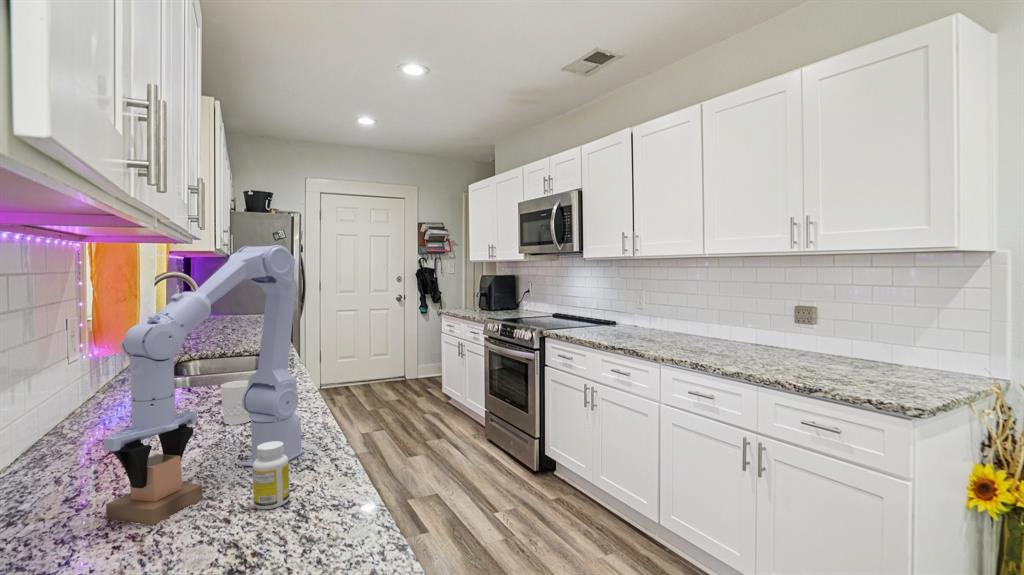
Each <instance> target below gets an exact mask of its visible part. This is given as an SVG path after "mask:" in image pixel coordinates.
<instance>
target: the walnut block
mask: <svg viewBox="0 0 1024 575" xmlns="http://www.w3.org/2000/svg"><path fill="white" fill-rule="evenodd" d="M200 501H203V484H199V483H198V484H197V483H188V482H182V489H180V490H178V491H176V492H174V493H172V494H170V495H168V496H166V497H164V498H162V499H160V500H158V501H156V502H152V501H143V500H133V499H131V492H129V493H127V494H125V495H123V496H121V497H118V498H116V499H114V500H111V501H109V502H107V503H105V511H106V512H105V513H106V520H107V519H110V520H109V521H113V520H116V521H115V522H119V521H124V522H123V523H126V522H133V523H140V524H146V525H145V526H147V525H150V526H149V527H153V525H154V526H156V525H157V523H158V524H159V522H160V521H161V522H163V521H165V520H167V519H168V518H167V517H169V516H171V515H173V514H175V513H176V514H178V513H179V512H178V511H180V510H182V511H184V510H185V509H184V508H186V507H188V506H189V507H191V506H193V505H195V504H197V503H199V502H200ZM190 505H191V506H190ZM189 507H188V508H189ZM183 509H184V510H183ZM186 509H187V508H186ZM177 512H178V513H177ZM180 512H181V511H180ZM176 514H175V515H176ZM173 516H174V515H173ZM171 517H172V516H171ZM166 518H167V519H166ZM169 518H170V517H169ZM164 519H165V520H164ZM162 520H163V521H162ZM161 522H160V523H161ZM133 523H132V524H133ZM140 524H139V525H140ZM155 524H156V525H155Z"/></svg>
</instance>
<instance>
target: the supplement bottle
mask: <svg viewBox="0 0 1024 575" xmlns="http://www.w3.org/2000/svg"><path fill="white" fill-rule="evenodd" d="M283 450H284V448H283V442H280V441H272V442H266V443H263V444H260V445H259V446H258V447H257V456H258V457H259V458H257V459H256V460H255V461H254V463H253V466H252V478H253V479H252V483H253V485H252V486H253V489H252V490H253V505H254V507H255V508H256V509H259V510H271V509H275V508H278V507H280V506H282V505H285V504H286V503H287V502H288V501H289V500H290V469H289V468H290V467H289V463H290V462H289V461H288V457H287V456H286V455H284V454H282V453H283Z"/></svg>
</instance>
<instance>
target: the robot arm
mask: <svg viewBox="0 0 1024 575" xmlns="http://www.w3.org/2000/svg"><path fill="white" fill-rule="evenodd" d="M295 265H296V258H295V257H294V256H293V255H292V253H291V252H290V251H289V249H288V248H286V247H285V246H283V245H282V244H281V245H280V244H274V245H267V246H263V245H262V246H249V245H247V246H245V245H244V246H243V247H242V246H241V247H240V248H239V249H238V250H237V251H236V252H234V253H232V254H231V255H230V256H229V257H228V260H227V262H225V263H224V264H223V265H222V266H221V267H220V268H219V269H217V271H216V272H215V273H213V275H211V276H210V277H209V278H208V279H207V280H205V282H203V283H202V284H201V285H200V286H199V287H198V288H197V289H196V290H195V291H183V292H181V293H178V292H177V293H174V294H173V295H172V296H171V297H170V300H171V301H170V302H169V303H168V304H167V305H165V306H163V308H161V309H160V310H159V311H158V312H156V313H151V314H150V315H149V316H148V317H147V319H148V320H147V322H146V323H145V322H141V323H137V324H134V325H132V327H131V328H129V329H128V330H127V332H126V333H125V336H124V337H123V341H120V342H119V344H120V349H121V350H122V352H123V353H124V354H125V355H126V356H127V357H128V361H129V366H130V367H129V370H130V395H131V396H130V397H131V399H130V400H131V404H130V405H131V425H130V426H128V427H126V428H124V429H121V430H120V431H118V432H116V433H114V434H111V435H109V436H105V437H103V451H104V452H105V451H106V452H112V454H113V455H114V456H115V457H116V458H117V460H118V461H119V462H120V464H121V466H122V467H123V468H124V472H125V473H126V475H127V478H128V481H129V485H130V484H131V487H132V488H144V487H146V482H147V463H148V458H149V457H150V454H151V451H152V447H153V446H152V445H150V444H149V445H148V444H144V442H142V441H143V440H147V439H149V438H152V437H156V436H158V439H159V441H160V445H161V449H162V454H163V455H176V456H180V459H181V460H182V458H183V455H184V452H185V449H186V447H187V445H188V443H189V441H190V440H191V438H192V436H193V435H194V427H192V426H188V425H194V424H197V423H198V411H189V410H188V411H184V412H179V413H176V395H175V360H174V359H175V357H174V356H175V355H176V354H179V353H180V351H181V349H182V346H183V342H184V339H185V338H186V337H187V336H188V335H189V334H190V333H191V332H192V331H194V329H196V328H197V327H198V326H199V325H200V324H201V323H202V322H204V321H205V320H206V319H207V318H209V316H210V315H211V313H212V312H211V311H212V305H213V304H214V303H215V302H217V301H218V300H219V299H221V298H222V297H224V296H225V295H226V294H227V293H228V292H229V291H231V290H232V289H234V288H235V287H236V286H238V284H240V283H242V282H243V281H244V280H249V281H251V282H252V283H254V284H256V285H257V286H258V287H259V288H260V289H261V290H262V291H263V292H264V293H265V294H266V296H265V304H264V305H265V306H264V312H263V313H264V315H263V322H262V323H263V324H262V331H261V340H260V350H259V360H258V366H257V370H256V371H255V372H254V373H253V374H252V375H251V376H249V378H248V380H249V381H248V386H247V389H246V391H245V392H244V395H243V398H242V405H243V408H244V409H245V411H246V412H248V413H249V418H251V422H250V424H251V427H250V428H251V430H250V431H251V457H250V458H249V459H246V460H245V461H243V462H241V466H246V467H253V463H254V461H255V460H256V459H257V458H259V457H258V456H257V447H258V446H259V445H260V444H263V443H266V442H272V441H280V442H283V448H284V450H283V453H282V454H284V455H286V456H287V457H288V462H289V461H291V460H293V459H295V458H297V457H299V456H300V455H302V454H304V453H305V452H306V450H305V449H302V422H301V420H300V418H299V416H298V415H297V413H295V411H296V410H297V408H298V406H299V401H300V400H299V394H298V389H297V382H298V381H297V380H296V378H295V377H294V376H293V375H292V373H291V372H289V369H288V368H289V362H290V361H289V359H290V350H291V340H292V331H293V330H292V329H293V322H294V321H293V320H294V311H295V310H294V309H295V302H296V300H295V299H296V294H297V293H296V291H297V284H296V278H295V274H294V273H295Z"/></svg>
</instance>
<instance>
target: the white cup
mask: <svg viewBox="0 0 1024 575" xmlns="http://www.w3.org/2000/svg"><path fill="white" fill-rule="evenodd" d="M248 381H249V379H248V380H247V379H246V380H235V381H228V382H225V383H222V384H221V385H220V395H221V398H220V399H221V407H222V414H223V424H224V423H225V424H240V423H245V422H249V421H251V418H249V413H248V412H246V411H245V409H244V408H243V405H242V398H243V395H244V392H245V391H246V389H247V386H248ZM249 423H250V422H249ZM225 424H224V425H225Z"/></svg>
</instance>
